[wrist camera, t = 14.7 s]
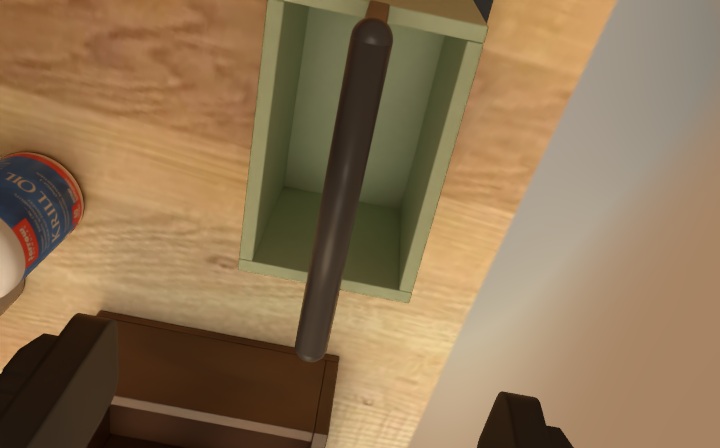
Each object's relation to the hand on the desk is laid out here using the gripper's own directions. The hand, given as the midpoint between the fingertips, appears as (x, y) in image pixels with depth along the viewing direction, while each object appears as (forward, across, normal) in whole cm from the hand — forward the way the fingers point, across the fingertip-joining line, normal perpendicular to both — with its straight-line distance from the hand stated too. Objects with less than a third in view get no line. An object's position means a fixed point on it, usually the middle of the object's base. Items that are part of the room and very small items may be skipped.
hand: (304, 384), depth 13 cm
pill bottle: (+21, +17, +10) cm, 29 cm away
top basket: (+20, 0, 0) cm, 20 cm away
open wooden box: (+20, +6, +23) cm, 32 cm away
